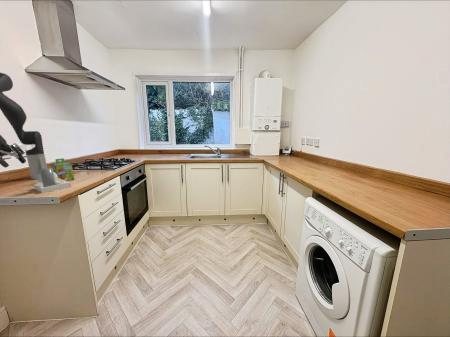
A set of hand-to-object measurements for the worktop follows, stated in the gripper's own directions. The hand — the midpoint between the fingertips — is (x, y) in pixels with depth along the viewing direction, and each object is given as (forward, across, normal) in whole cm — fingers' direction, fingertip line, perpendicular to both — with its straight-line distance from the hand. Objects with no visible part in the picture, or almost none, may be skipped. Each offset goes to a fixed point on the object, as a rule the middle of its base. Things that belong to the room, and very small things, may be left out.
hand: (15, 164), depth 101 cm
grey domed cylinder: (+18, -6, +1) cm, 19 cm away
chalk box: (+26, 0, -19) cm, 32 cm away
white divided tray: (+19, -6, -1) cm, 20 cm away
